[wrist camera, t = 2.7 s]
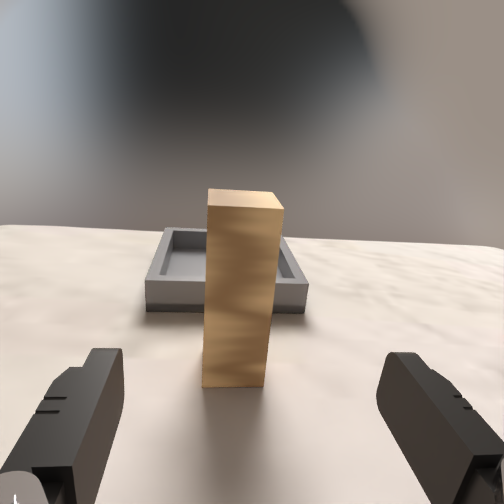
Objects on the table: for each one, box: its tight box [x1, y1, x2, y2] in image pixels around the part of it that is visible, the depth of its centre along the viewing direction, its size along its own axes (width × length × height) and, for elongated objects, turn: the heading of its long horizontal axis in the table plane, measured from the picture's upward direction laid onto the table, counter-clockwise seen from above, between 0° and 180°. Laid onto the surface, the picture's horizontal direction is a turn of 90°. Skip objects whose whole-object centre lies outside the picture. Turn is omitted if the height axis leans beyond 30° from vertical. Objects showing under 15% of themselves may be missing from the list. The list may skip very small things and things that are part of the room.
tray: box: [145, 227, 309, 313], centre depth 37 cm, size 14×14×3 cm
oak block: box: [202, 189, 284, 388], centre depth 22 cm, size 4×4×12 cm
